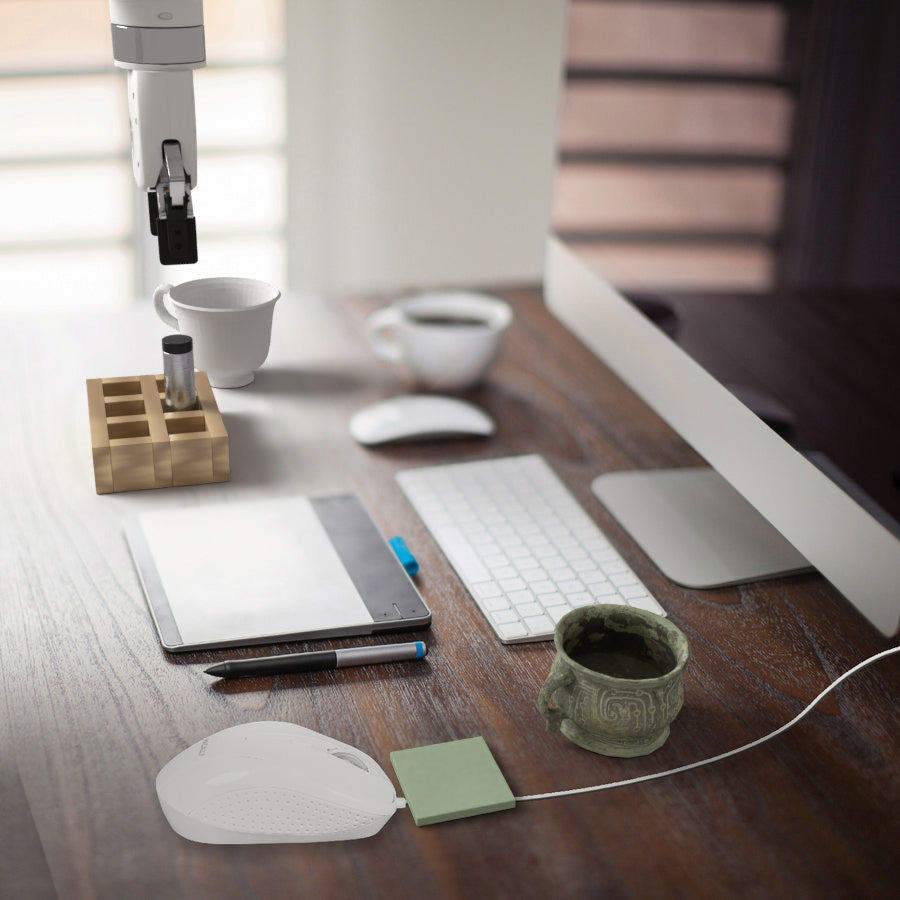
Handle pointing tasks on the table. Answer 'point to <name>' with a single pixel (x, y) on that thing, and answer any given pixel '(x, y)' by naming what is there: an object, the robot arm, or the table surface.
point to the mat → (451, 781)
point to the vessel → (615, 679)
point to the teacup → (223, 324)
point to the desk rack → (154, 435)
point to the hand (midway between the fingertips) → (173, 248)
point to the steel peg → (179, 373)
